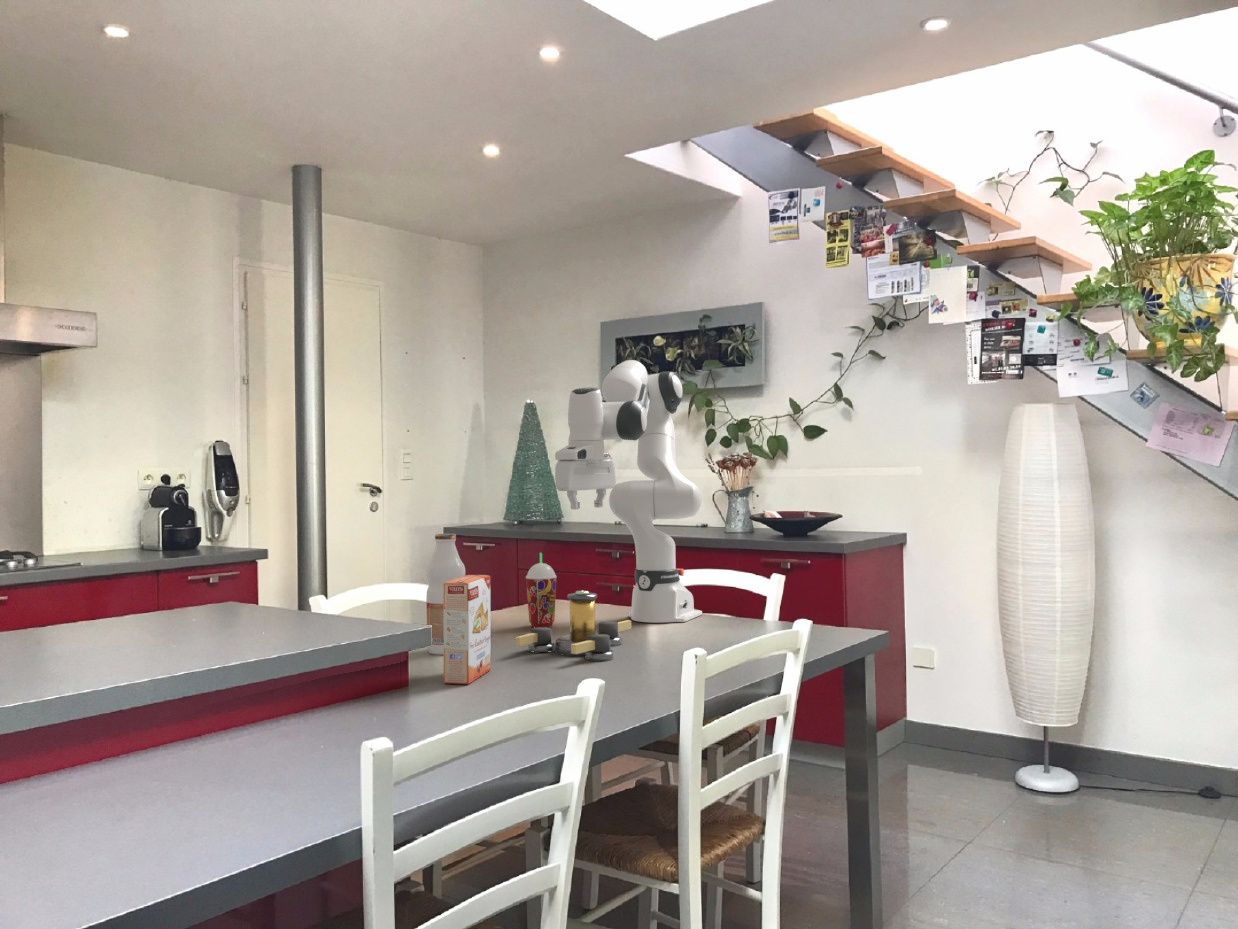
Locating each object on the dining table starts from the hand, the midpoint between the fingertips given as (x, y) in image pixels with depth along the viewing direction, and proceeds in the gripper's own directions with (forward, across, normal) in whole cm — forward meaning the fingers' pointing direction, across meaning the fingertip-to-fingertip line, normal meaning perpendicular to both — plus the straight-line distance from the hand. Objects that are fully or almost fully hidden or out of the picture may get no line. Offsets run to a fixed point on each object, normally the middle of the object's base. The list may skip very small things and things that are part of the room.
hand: (587, 508), depth 245 cm
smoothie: (+33, -10, -24) cm, 42 cm away
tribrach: (+33, +7, +6) cm, 34 cm away
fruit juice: (+33, +28, -21) cm, 48 cm away
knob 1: (+31, +18, -3) cm, 36 cm away
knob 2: (+31, +18, +14) cm, 39 cm away
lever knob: (+31, -3, +6) cm, 32 cm away
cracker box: (+33, +45, +3) cm, 56 cm away
